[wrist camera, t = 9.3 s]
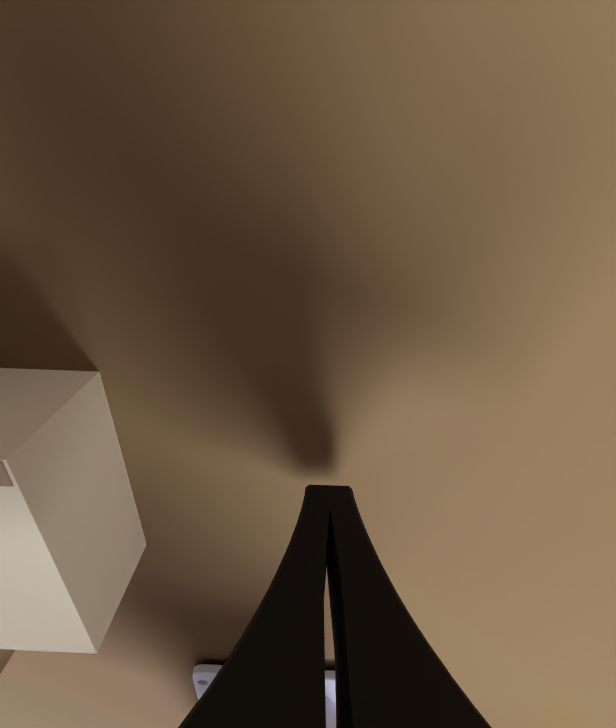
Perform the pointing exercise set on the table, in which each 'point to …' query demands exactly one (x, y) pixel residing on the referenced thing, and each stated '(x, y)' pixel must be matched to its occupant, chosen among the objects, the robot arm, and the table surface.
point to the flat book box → (62, 512)
